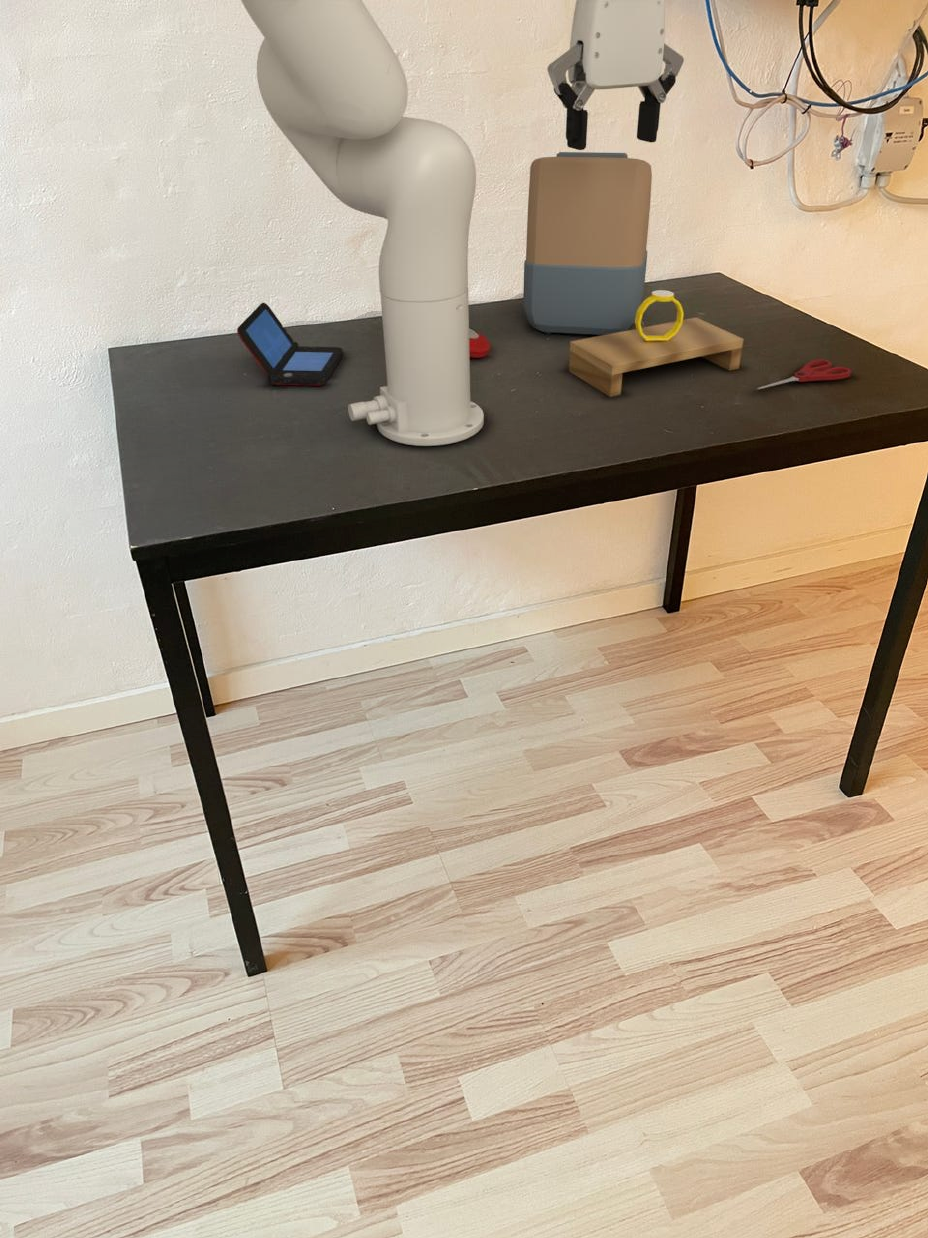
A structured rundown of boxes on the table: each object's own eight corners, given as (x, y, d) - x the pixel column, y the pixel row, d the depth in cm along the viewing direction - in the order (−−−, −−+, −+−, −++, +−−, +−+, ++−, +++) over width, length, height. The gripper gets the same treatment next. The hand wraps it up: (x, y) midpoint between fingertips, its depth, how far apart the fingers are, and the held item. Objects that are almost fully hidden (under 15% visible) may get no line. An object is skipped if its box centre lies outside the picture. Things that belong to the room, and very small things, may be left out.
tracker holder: (506, 345, 123) (446, 343, 117) (495, 374, 126) (437, 373, 120) (462, 303, 130) (404, 299, 124) (453, 331, 132) (396, 329, 127)
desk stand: (609, 397, 111) (612, 365, 108) (568, 371, 118) (570, 341, 116) (738, 368, 117) (743, 338, 115) (692, 345, 125) (695, 317, 122)
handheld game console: (324, 388, 115) (318, 331, 111) (243, 386, 116) (233, 329, 112) (345, 354, 125) (340, 300, 121) (271, 352, 126) (262, 299, 122)
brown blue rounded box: (643, 308, 139) (659, 140, 125) (634, 344, 126) (651, 161, 112) (537, 303, 142) (541, 139, 128) (518, 337, 129) (520, 159, 115)
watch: (637, 345, 114) (642, 297, 110) (630, 338, 116) (635, 291, 112) (682, 341, 114) (688, 294, 111) (674, 334, 117) (680, 287, 113)
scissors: (853, 377, 114) (855, 369, 113) (772, 399, 108) (774, 392, 108) (820, 364, 117) (822, 356, 117) (741, 385, 112) (742, 377, 112)
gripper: (670, -38, 100) (654, 134, 110) (535, -34, 95) (531, 146, 105) (712, -39, 95) (691, 142, 105) (571, -35, 89) (564, 156, 99)
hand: (611, 144), depth 105 cm, fingers open, 9 cm apart
